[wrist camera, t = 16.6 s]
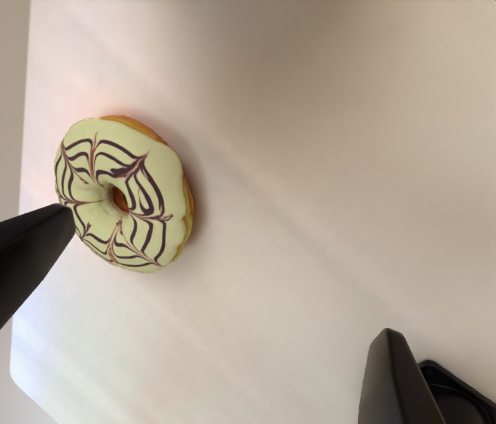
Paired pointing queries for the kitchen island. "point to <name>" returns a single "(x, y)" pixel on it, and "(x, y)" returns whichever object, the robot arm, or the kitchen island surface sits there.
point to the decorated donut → (131, 184)
